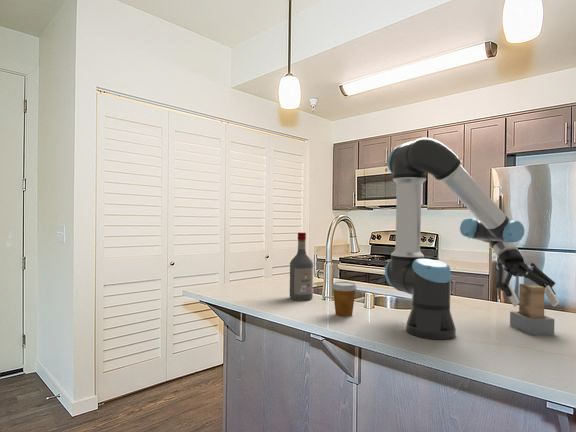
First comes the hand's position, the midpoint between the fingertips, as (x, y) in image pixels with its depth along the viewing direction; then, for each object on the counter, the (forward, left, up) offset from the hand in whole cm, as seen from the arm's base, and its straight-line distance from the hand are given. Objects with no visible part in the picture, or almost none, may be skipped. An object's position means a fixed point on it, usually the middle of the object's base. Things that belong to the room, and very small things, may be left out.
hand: (536, 304), depth 125 cm
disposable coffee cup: (-63, -11, -9) cm, 65 cm away
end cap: (-1, +2, -9) cm, 9 cm away
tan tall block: (-1, +2, -8) cm, 8 cm away
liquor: (-89, +6, -9) cm, 90 cm away
